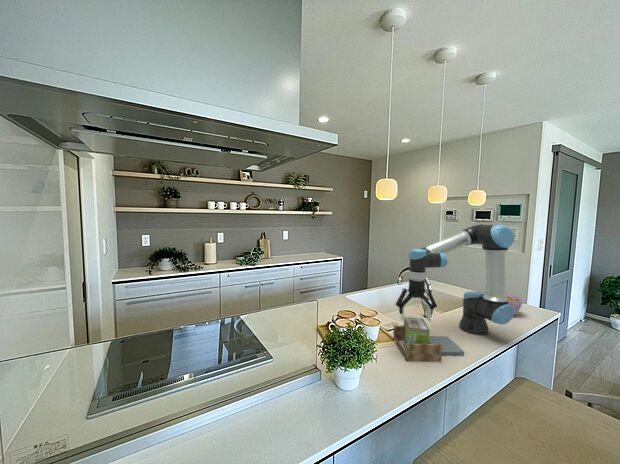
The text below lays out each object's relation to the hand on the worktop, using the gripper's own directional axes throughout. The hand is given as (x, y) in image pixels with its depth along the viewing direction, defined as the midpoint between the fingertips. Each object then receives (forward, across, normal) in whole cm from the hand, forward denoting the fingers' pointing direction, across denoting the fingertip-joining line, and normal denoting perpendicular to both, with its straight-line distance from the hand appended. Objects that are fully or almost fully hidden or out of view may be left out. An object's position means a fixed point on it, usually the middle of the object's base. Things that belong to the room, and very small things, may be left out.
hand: (415, 320), depth 134 cm
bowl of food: (+15, -84, -52) cm, 100 cm away
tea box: (+16, 0, 0) cm, 16 cm away
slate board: (+16, -16, -3) cm, 23 cm away
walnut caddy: (+16, 0, 0) cm, 16 cm away
